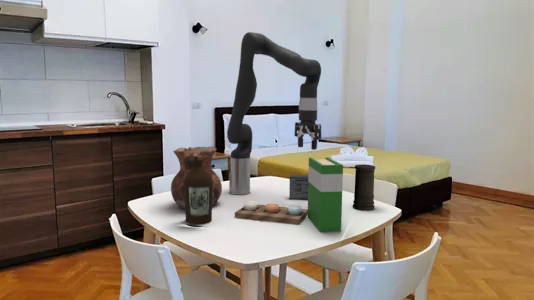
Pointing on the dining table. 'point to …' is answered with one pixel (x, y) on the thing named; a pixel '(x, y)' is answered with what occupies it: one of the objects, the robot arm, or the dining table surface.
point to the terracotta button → (272, 208)
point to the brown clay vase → (186, 165)
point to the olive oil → (198, 194)
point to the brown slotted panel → (271, 215)
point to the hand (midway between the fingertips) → (307, 148)
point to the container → (364, 187)
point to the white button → (250, 206)
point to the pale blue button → (295, 210)
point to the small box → (298, 187)
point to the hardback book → (325, 194)
